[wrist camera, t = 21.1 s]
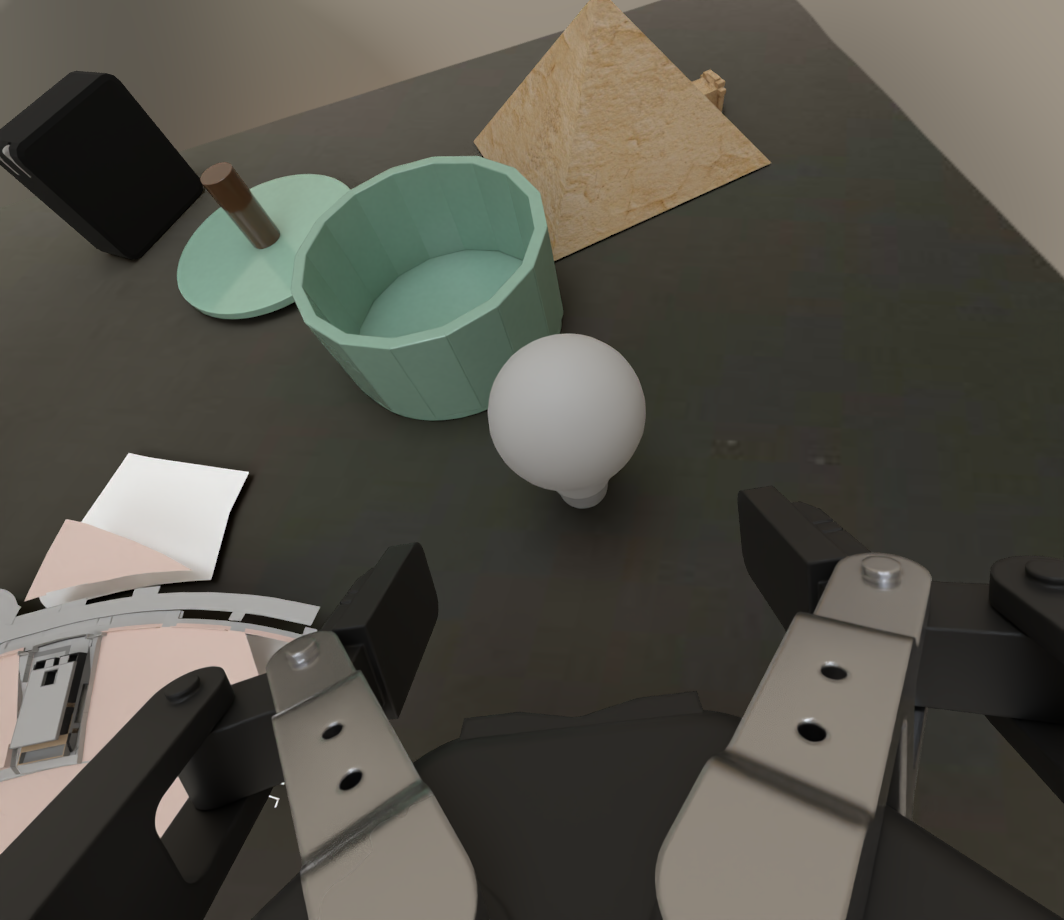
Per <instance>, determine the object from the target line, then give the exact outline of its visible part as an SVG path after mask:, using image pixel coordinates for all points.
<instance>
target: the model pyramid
mask: <svg viewBox="0 0 1064 920" xmlns="http://www.w3.org/2000/svg"><path fill="white" fill-rule="evenodd" d="M723 86H725V81H724V80H723V79H721V77H720V76H718V75H717V74H716V73H714V72H713V71H712V70H711V69H710V70H708V71H706V72H703V74H702V75H700V79H698V80H696V81H692V82H691V81H690V80H689V79H688V78H687V77H686V76H685V75H684V74H683V73H682V72H681V71H680V70H679V69H678V68H677V67H676V66H675V65H674V64H673V63H672V62H671V61H670V60H669V59H668V58H667V57H666V56H665V55H664V54H663V53H662V52H661V51H660V50H659V49H658V48H657V47H656V46H655V45H654V44H653V43H652V42H651V41H650V40H649V39H648V38H647V37H646V36H645V35H644V34H643V33H642V32H641V31H640V30H639V29H638V28H637V27H636V26H635V25H634V24H633V23H632V22H631V21H630V20H629V19H628V18H627V17H626V16H625V14H624V13H623V12H622V11H621V10H619V8H618V7H617V6H616V5H615V4H614V3H613V2H612V1H611V0H590V1H589V2H588V3H587V4H586V6H585V7H584V8H583V9H582V10H581V11H580V13H579V14H578V15H577V16H576V18H575V19H574V20H573V21H572V22H571V24H570V25H569V26H568V27H567V28H566V30H565V31H564V32H563V33H562V34H561V36H560V37H559V38H558V39H557V41H556V42H555V43H554V44H553V45H552V47H551V48H550V49H549V50H548V52H547V53H546V54H545V55H544V56H543V58H542V59H541V60H540V61H539V62H538V64H537V65H536V66H535V67H534V69H533V70H532V71H531V72H530V73H529V75H528V76H527V77H526V78H525V79H524V81H523V82H522V83H521V84H520V86H519V87H518V88H517V89H516V90H515V92H514V93H513V94H512V95H511V97H510V98H509V99H508V100H507V101H506V103H505V104H504V105H503V106H502V107H501V109H500V110H499V111H498V112H497V114H496V115H495V116H494V117H493V118H492V120H491V121H490V122H489V123H488V124H487V126H486V127H485V128H484V129H483V131H482V132H481V133H480V134H479V135H478V137H477V138H476V139H475V140H474V143H475V145H476V146H477V148H478V149H479V151H480V152H481V154H482V155H483V157H484V158H486V159H489V160H492V161H495V162H499V163H502V164H505V165H508V166H511V167H514V168H516V169H517V170H518V171H519V172H520V173H521V174H522V175H523V176H524V177H525V178H526V179H527V180H528V181H529V182H530V183H531V184H532V185H533V186H534V187H535V188H536V189H537V190H538V191H539V192H540V194H541V198H542V203H543V208H544V212H545V217H546V222H547V226H548V232H549V237H550V242H551V248H552V253H553V258H554V261H556V260H558V259H560V258H562V257H564V256H567V255H569V254H571V253H573V252H576V251H578V250H580V249H582V248H584V247H587V246H589V245H591V244H593V243H595V242H598V241H600V240H602V239H604V238H606V237H609V236H611V235H613V234H615V233H617V232H620V231H622V230H624V229H626V228H629V227H631V226H633V225H635V224H637V223H640V222H642V221H644V220H646V219H648V218H651V217H653V216H655V215H657V214H659V213H662V212H664V211H666V210H668V209H671V208H673V207H675V206H677V205H679V204H682V203H684V202H686V201H688V200H690V199H693V198H695V197H697V196H699V195H701V194H704V193H706V192H708V191H710V190H712V189H715V188H717V187H719V186H721V185H724V184H726V183H728V182H730V181H732V180H735V179H737V178H739V177H741V176H743V175H746V174H748V173H750V172H752V171H754V170H757V169H759V168H761V167H763V166H766V165H768V164H770V163H771V162H770V161H769V160H768V159H767V158H766V157H765V156H764V155H763V154H762V153H761V152H760V151H759V150H758V149H757V148H756V147H755V146H754V145H753V144H752V143H751V142H750V141H749V140H748V139H747V138H746V137H745V136H744V135H743V134H742V133H741V132H740V131H739V130H738V129H737V128H736V127H735V126H734V125H733V124H732V123H731V122H730V121H729V120H728V119H727V118H726V117H725V116H724V115H723V114H722V113H721V112H722V108H723V102H724V95H725V93H726V89H725V88H723Z"/></svg>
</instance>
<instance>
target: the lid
mask: <svg viewBox="0 0 1064 920" xmlns="http://www.w3.org/2000/svg"><path fill="white" fill-rule="evenodd" d="M200 181H201V183H202V185H203V186H204V187H205V188H206V189H207V191H208V192H209V193H210V194H211V195H212V197H213V198H214V199H215V200H216V202H217V203H218V204H219V205H220V206H221V207H220V208H219V209H218V210H216V211H215V212H214V213H213V214H212V215H211V216H209V217H208V218H207V219H206V220H205V221H204V222H203V223H202V224H201V225H200V227H199V228H198V229H197V230H196V231H195V233H194V234H193V235H192V237H191V238H190V240H189V241H188V243H187V244H186V246H185V248H184V250H183V252H182V254H181V257H180V260H179V264H178V269H177V282H178V287H179V289H180V292H181V294H182V295H183V297H184V298H185V299H186V301H187V302H189V303H190V304H191V305H192V306H193V307H194V308H195V309H196V310H198V311H200V312H202V313H203V314H206V315H209V316H212V317H215V318H221V319H244V318H251V317H256V316H260V315H264V314H267V313H270V312H273V311H276V310H278V309H281V308H283V307H286V306H288V305H290V304H292V303H294V302H295V300H294V298H293V296H292V294H291V284H292V276H293V268H294V260H295V256H296V253H297V251H298V250H299V248H300V246H301V245H302V243H303V241H304V240H305V238H306V236H307V235H308V233H309V232H310V230H311V228H312V227H313V225H314V223H315V222H316V220H317V219H318V218H319V217H320V216H321V215H322V214H323V213H325V212H326V211H327V210H328V209H329V208H330V207H331V206H332V205H333V204H335V203H336V202H337V201H338V200H339V199H340V198H341V197H342V196H343V195H345V194H346V193H347V192H348V191H350V189H349V188H348V187H347V186H346V185H345V184H343V183H342V182H340V181H338V180H336V179H334V178H331V177H328V176H324V175H318V174H298V175H291V176H286V177H282V178H277V179H274V180H271V181H268V182H265V183H262V184H260V185H258V186H255V187H253V188H251V189H249V188H248V187H247V185H246V184H245V183H244V181H243V180H242V179H241V177H240V176H239V175H238V173H237V172H236V171H235V169H234V168H233V166H232V165H231V164H230V163H227V162H221V163H217V164H215V165H213V166H211V167H209V168H208V169H207V170H206V171H205V172H204V173H203V174H202V175H201V178H200Z"/></svg>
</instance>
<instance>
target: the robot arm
mask: <svg viewBox="0 0 1064 920" xmlns="http://www.w3.org/2000/svg"><path fill="white" fill-rule="evenodd" d="M738 511H739V522H740V533H741V544H742V553H743V558H744V562H745V565H746V568H747V571H748V573H749V575H750V577H751V578H752V580H753V581H754V583H755V584H756V586H757V587H758V589H759V590H760V592H761V593H762V595H763V596H764V598H765V599H766V601H767V602H768V604H769V606H770V607H771V609H772V610H773V612H774V613H775V615H776V616H777V618H778V619H779V621H780V622H781V624H782V625H783V627H784V628H785V630H786V631H787V632H786V634H785V636H784V638H783V640H782V642H781V644H780V646H779V648H778V650H777V651H776V653H775V655H774V657H773V659H772V661H771V663H770V665H769V667H768V669H767V671H766V673H765V675H764V677H763V679H762V681H761V683H760V685H759V687H758V688H757V690H756V692H755V694H754V696H753V698H752V700H751V702H750V704H749V706H748V708H747V710H746V712H745V714H744V716H743V718H740V717H737V716H733V715H730V714H726V713H720V712H715V711H708V710H703V708H702V705H701V702H700V699H699V696H698V693H697V691H693V692H684V693H676V694H667V695H659V696H650V697H642V698H636V699H633V700H630V701H627V702H624V703H621V704H618V705H615V706H612V707H609V708H605V709H602V710H599V711H596V712H593V713H590V714H587V715H584V716H580V717H566V716H556V715H545V714H535V713H525V712H514V713H505V714H497V715H488V716H480V717H471V718H464V721H463V726H462V730H461V734H460V738H458V739H455V740H453V741H450V742H448V743H446V744H444V745H441V746H439V747H438V748H436V749H434V750H432V751H430V752H429V753H427V754H425V755H424V756H422V757H421V758H420V759H418V760H417V761H415V762H414V763H413V764H412V762H411V760H410V758H409V756H408V755H407V753H406V751H405V749H404V747H403V746H402V744H401V742H400V740H399V738H398V736H397V735H396V733H395V731H394V729H393V727H392V726H391V724H390V722H389V720H390V719H398V718H399V715H400V713H401V710H402V708H403V705H404V702H405V700H406V697H407V695H408V692H409V690H410V687H411V684H412V682H413V679H414V677H415V674H416V672H417V669H418V667H419V664H420V661H421V659H422V656H423V654H424V651H425V649H426V646H427V644H428V641H429V638H430V636H431V633H432V631H433V628H434V626H435V623H436V620H437V617H438V599H437V594H436V590H435V587H434V584H433V580H432V577H431V574H430V570H429V567H428V564H427V560H426V557H425V553H424V550H423V548H422V546H421V545H420V544H419V543H418V542H416V543H409V544H403V545H397V546H391V547H389V548H388V549H387V550H386V552H385V553H384V554H383V556H382V557H381V559H380V560H379V562H378V563H377V565H376V566H375V567H374V568H371V569H370V570H368V571H367V572H366V573H365V574H363V575H362V576H361V577H359V578H358V579H357V580H356V581H355V582H354V584H353V585H352V587H351V588H350V589H349V591H348V592H347V593H348V594H347V595H345V596H344V598H343V599H342V600H341V602H340V605H338V606H337V607H336V609H335V610H334V611H333V613H332V614H331V615H330V617H329V618H328V620H327V621H326V622H325V624H324V625H323V626H322V628H321V629H320V631H317V632H312V633H309V634H306V635H303V636H301V637H298V638H296V639H294V640H292V641H291V642H289V643H287V644H286V645H284V646H283V647H282V648H280V649H279V650H278V651H277V652H276V653H275V654H274V655H273V656H272V657H271V658H270V660H269V661H268V663H267V666H266V673H264V674H261V675H258V676H255V677H252V678H249V679H246V680H243V681H240V682H238V683H235V684H232V685H231V684H230V682H229V680H228V678H227V675H226V673H225V671H224V670H223V668H221V667H217V666H210V667H204V668H200V669H197V670H194V671H191V672H189V673H187V674H185V675H182V676H180V677H179V678H177V679H175V680H173V681H172V682H170V683H168V684H167V685H166V686H164V687H163V688H161V689H160V690H159V691H158V692H156V693H155V694H154V695H153V696H152V697H151V698H150V699H149V700H148V701H147V702H146V703H145V704H144V705H143V707H142V708H141V709H140V710H139V711H138V712H137V713H136V714H135V715H134V716H133V717H132V718H131V719H130V720H129V721H128V722H127V723H126V724H125V725H124V726H123V727H122V728H121V729H120V730H119V732H118V733H117V734H116V735H115V736H114V737H113V738H112V739H111V740H110V741H109V742H108V743H107V744H106V745H105V746H104V747H103V748H102V749H101V750H100V751H99V752H98V753H97V754H96V755H95V757H94V758H93V759H92V760H91V761H90V762H89V763H88V764H87V765H86V766H85V767H84V768H83V769H82V770H81V771H80V772H79V773H78V774H77V775H76V776H75V777H74V778H73V779H72V781H71V782H70V783H69V784H68V785H67V786H66V787H65V788H64V789H63V790H62V791H61V792H60V793H59V794H58V795H57V796H56V797H55V798H54V799H53V800H52V801H51V802H50V803H49V804H48V806H47V807H46V808H45V809H44V810H43V811H42V812H41V813H40V814H39V815H38V816H37V817H36V818H35V819H34V820H33V821H32V822H31V823H30V824H29V825H28V826H27V827H26V828H25V829H24V831H23V832H22V833H21V834H20V835H19V836H18V837H17V838H16V839H15V840H14V841H13V842H12V843H11V844H10V845H9V846H8V847H7V848H6V849H5V850H4V851H3V852H2V853H1V855H0V920H203V919H204V917H205V915H206V913H207V912H208V910H209V908H210V906H211V904H212V902H213V900H214V898H215V896H216V895H217V893H218V891H219V889H220V887H221V885H222V883H223V881H224V880H225V878H226V876H227V874H228V872H229V870H230V868H231V866H232V864H233V863H234V861H235V859H236V857H237V855H238V853H239V851H240V849H241V848H242V846H243V844H244V842H245V840H246V838H247V836H248V834H249V832H250V831H251V829H252V827H253V825H254V823H255V821H256V819H257V817H258V816H259V814H260V812H261V810H262V808H263V806H264V804H265V802H266V800H267V799H268V797H269V795H270V793H271V790H272V788H273V787H274V786H276V785H279V784H281V783H284V782H285V785H286V790H287V795H288V799H289V804H290V808H291V813H292V818H293V822H294V827H295V832H296V836H297V841H298V845H299V850H300V855H301V860H302V868H301V870H300V872H299V873H298V874H297V875H296V876H295V877H294V878H293V879H292V880H291V881H290V882H289V883H288V884H287V885H286V886H285V887H284V888H283V889H282V890H281V891H280V892H279V893H278V894H277V895H276V896H274V897H273V898H272V899H271V900H270V901H269V902H268V903H267V904H266V905H265V906H264V907H263V908H262V909H261V910H260V911H259V912H258V913H257V914H256V915H255V916H254V917H253V918H252V919H251V920H1064V919H1063V918H1061V917H1059V916H1058V915H1056V914H1055V913H1053V912H1052V911H1050V910H1049V909H1047V908H1045V907H1044V906H1042V905H1041V904H1039V903H1038V902H1036V901H1035V900H1033V899H1032V898H1030V897H1028V896H1027V895H1025V894H1024V893H1022V892H1021V891H1019V890H1018V889H1016V888H1015V887H1013V886H1011V885H1010V884H1008V883H1007V882H1005V881H1004V880H1002V879H1001V878H999V877H997V876H996V875H994V874H993V873H991V872H990V871H988V870H987V869H985V868H984V867H982V866H980V865H979V864H977V863H976V862H974V861H973V860H971V859H970V858H968V857H967V856H965V855H963V854H962V853H960V852H959V851H957V850H956V849H954V848H953V847H951V846H950V845H948V844H946V843H945V842H943V841H942V840H940V839H939V838H937V837H936V836H934V835H932V834H931V833H929V832H928V831H926V830H925V829H923V828H922V827H920V826H919V825H917V824H915V823H914V822H912V813H913V802H914V793H915V786H916V780H917V774H918V768H919V761H920V755H921V749H922V742H923V736H924V730H925V724H926V717H927V707H928V708H936V709H944V710H952V711H960V712H968V713H976V714H984V715H985V716H986V718H987V719H988V720H989V721H990V722H991V724H992V725H993V726H994V727H995V728H996V729H997V730H998V731H999V732H1000V733H1001V735H1002V736H1003V737H1004V738H1005V739H1006V740H1007V741H1008V742H1009V743H1010V745H1011V746H1012V747H1013V748H1014V749H1015V750H1016V751H1017V752H1018V753H1019V755H1020V756H1021V757H1022V758H1023V759H1024V760H1025V761H1026V762H1027V763H1028V764H1029V766H1030V767H1031V768H1032V769H1033V770H1034V771H1035V772H1036V773H1037V774H1038V776H1039V777H1040V778H1041V779H1042V780H1043V781H1044V782H1045V783H1046V784H1047V786H1048V787H1049V788H1050V789H1051V790H1052V791H1053V792H1054V793H1055V794H1056V795H1057V797H1058V798H1059V799H1060V800H1061V801H1062V802H1063V803H1064V560H1063V559H1058V558H1052V557H1044V556H1014V557H1008V558H1004V559H1001V560H999V561H996V562H995V563H994V564H993V565H992V566H991V571H990V584H979V583H952V582H938V581H931V575H930V573H929V572H928V570H927V569H926V568H924V567H923V566H922V565H920V564H918V563H917V562H915V561H912V560H910V559H907V558H904V557H901V556H897V555H892V554H885V553H872V552H871V551H870V550H868V549H867V548H866V547H865V546H864V545H862V544H861V543H860V542H859V541H858V540H856V539H855V538H854V537H853V536H852V535H851V534H849V533H848V532H847V531H846V530H844V531H843V528H842V527H841V526H840V525H839V524H837V523H836V522H835V521H834V522H833V519H831V518H830V517H829V516H828V515H827V514H826V513H824V512H823V511H822V510H821V509H819V508H816V507H814V506H811V505H808V504H806V503H803V502H793V503H791V502H790V501H789V500H788V499H787V498H785V497H784V496H783V495H782V494H781V493H780V492H779V491H778V490H777V489H776V488H775V487H773V486H766V487H760V488H754V489H747V490H741V491H739V493H738ZM177 777H179V779H180V781H181V783H182V785H183V787H184V789H185V791H186V792H187V794H188V796H189V798H188V799H187V801H186V802H185V803H184V805H183V806H182V808H181V809H180V811H179V812H178V814H177V815H176V816H175V818H174V819H173V821H172V822H171V824H170V825H169V827H168V828H167V829H166V831H165V832H164V834H163V835H162V837H161V838H160V837H159V835H158V833H157V831H156V827H155V817H156V811H157V808H158V805H159V803H160V801H161V799H162V797H163V796H164V794H165V793H166V792H167V790H168V789H169V788H170V786H171V785H172V784H173V782H174V781H175V779H176V778H177Z"/></svg>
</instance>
